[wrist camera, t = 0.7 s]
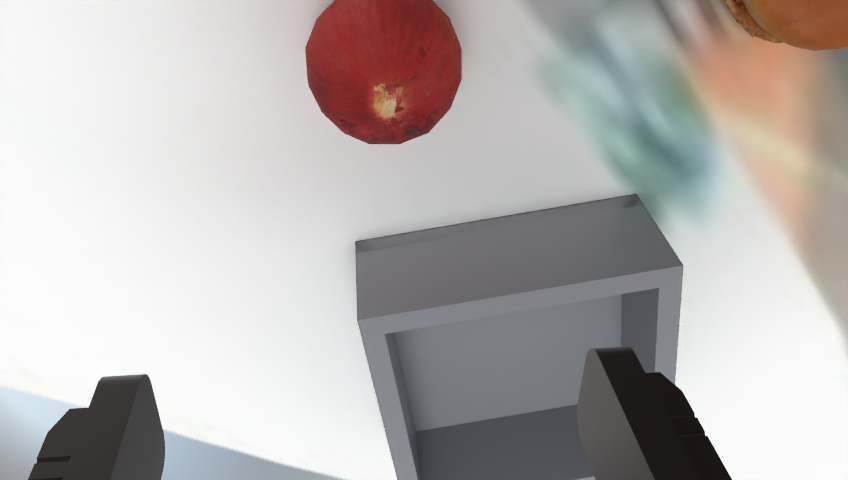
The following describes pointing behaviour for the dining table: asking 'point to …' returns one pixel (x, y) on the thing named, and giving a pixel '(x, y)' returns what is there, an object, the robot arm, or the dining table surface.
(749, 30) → the burger
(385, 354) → the bin
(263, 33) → the dining table surface
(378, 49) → the onion
